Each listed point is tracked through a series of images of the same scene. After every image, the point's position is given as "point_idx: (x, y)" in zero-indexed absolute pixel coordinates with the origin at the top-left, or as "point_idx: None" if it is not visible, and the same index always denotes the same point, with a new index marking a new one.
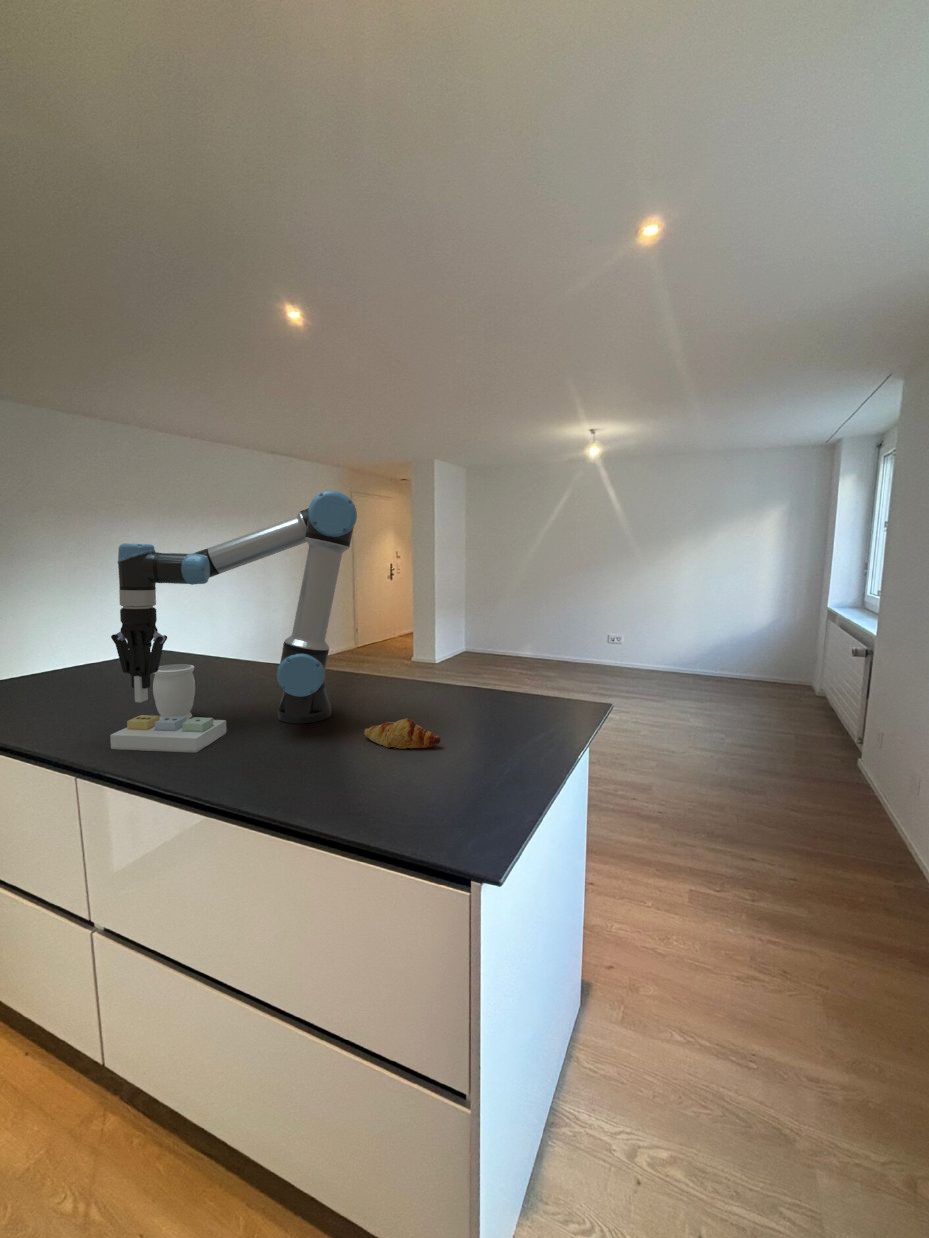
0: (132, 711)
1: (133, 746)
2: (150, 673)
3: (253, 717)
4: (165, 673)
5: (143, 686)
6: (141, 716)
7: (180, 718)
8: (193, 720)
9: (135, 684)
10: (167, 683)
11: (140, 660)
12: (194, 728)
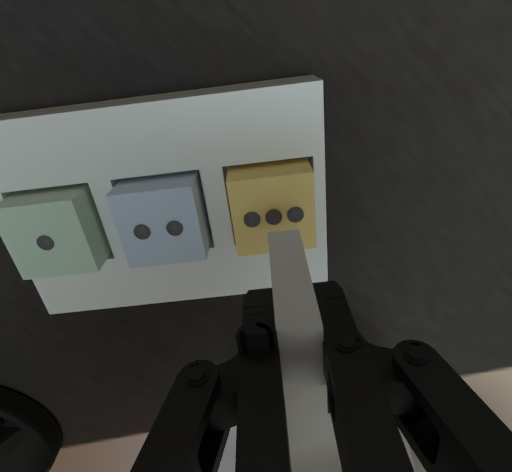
0: (477, 369)
1: (224, 86)
2: (189, 363)
3: (110, 396)
4: None
5: (263, 296)
6: (301, 235)
7: (134, 248)
8: (62, 239)
9: (304, 287)
10: (318, 434)
11: (279, 467)
12: (31, 198)
